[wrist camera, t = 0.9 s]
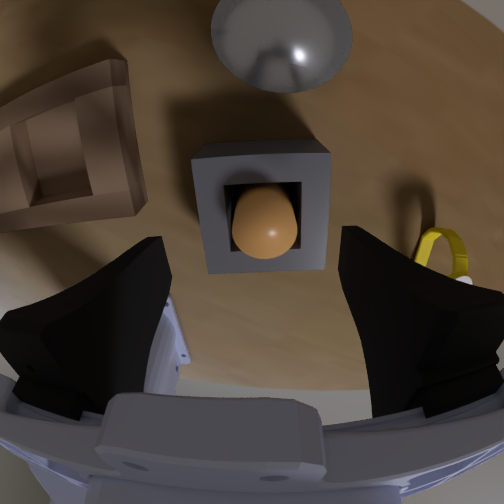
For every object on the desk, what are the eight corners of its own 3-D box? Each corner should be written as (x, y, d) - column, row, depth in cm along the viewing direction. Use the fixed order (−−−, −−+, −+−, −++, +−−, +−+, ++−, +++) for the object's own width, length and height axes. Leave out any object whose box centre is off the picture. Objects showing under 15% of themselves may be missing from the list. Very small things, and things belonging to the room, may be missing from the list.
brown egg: (290, 226, 18) (296, 257, 15) (238, 228, 18) (235, 260, 15) (290, 177, 16) (297, 199, 13) (234, 179, 17) (229, 202, 14)
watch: (422, 278, 23) (451, 325, 18) (398, 277, 23) (425, 327, 18) (446, 218, 20) (487, 259, 14) (420, 214, 19) (461, 256, 14)
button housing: (314, 236, 21) (324, 269, 17) (216, 240, 21) (208, 273, 18) (316, 139, 17) (331, 153, 14) (204, 144, 17) (190, 159, 14)
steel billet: (313, 91, 15) (355, 95, 9) (234, 93, 16) (215, 97, 9) (309, 20, 13) (346, -23, 6) (228, 22, 13) (207, -23, 6)
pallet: (148, 200, 19) (135, 216, 17) (-28, 228, 21) (-41, 240, 18) (127, 60, 14) (109, 58, 12) (-50, 147, 15) (-66, 155, 13)
